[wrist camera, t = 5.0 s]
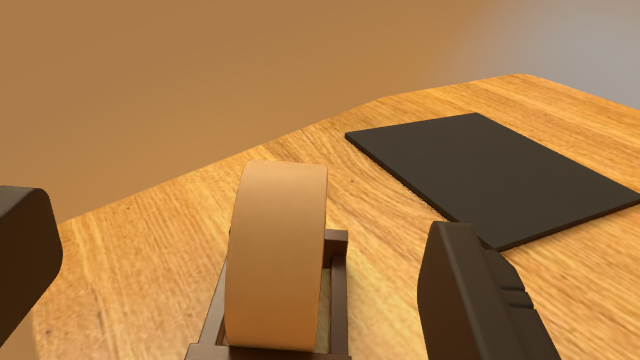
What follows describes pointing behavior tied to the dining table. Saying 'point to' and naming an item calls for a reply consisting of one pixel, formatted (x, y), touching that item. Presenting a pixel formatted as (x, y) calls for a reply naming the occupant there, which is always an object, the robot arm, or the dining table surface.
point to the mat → (492, 178)
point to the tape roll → (276, 256)
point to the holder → (211, 356)
